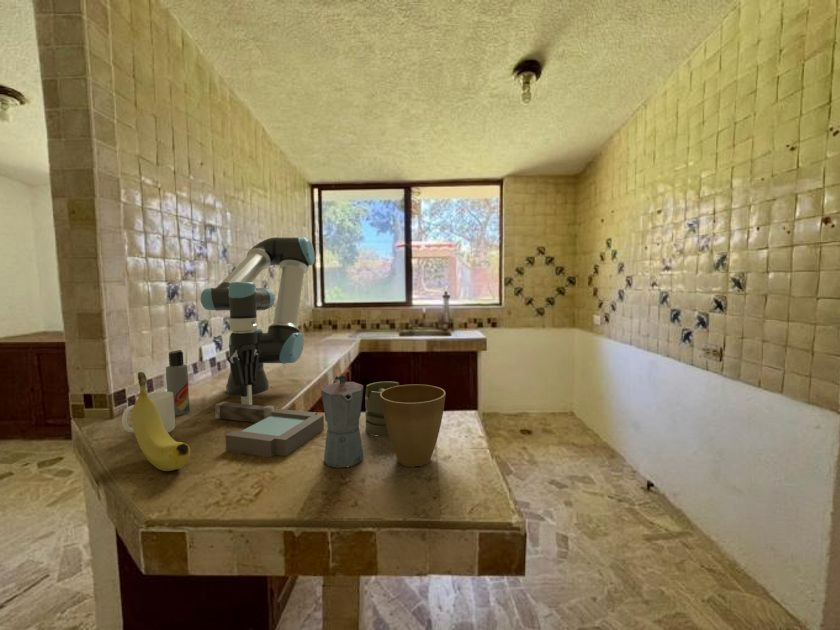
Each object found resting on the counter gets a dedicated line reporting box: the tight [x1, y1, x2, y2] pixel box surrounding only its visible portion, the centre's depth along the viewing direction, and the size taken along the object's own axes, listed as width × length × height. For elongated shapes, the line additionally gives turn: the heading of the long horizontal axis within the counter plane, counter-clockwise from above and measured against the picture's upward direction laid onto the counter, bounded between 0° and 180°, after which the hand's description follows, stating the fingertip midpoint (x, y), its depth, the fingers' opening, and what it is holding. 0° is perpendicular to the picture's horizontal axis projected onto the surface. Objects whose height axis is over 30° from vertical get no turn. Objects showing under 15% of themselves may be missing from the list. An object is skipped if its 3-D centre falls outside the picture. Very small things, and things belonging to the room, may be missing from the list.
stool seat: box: [224, 408, 325, 458], centre depth 98 cm, size 20×16×4 cm
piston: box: [364, 381, 400, 437], centre depth 104 cm, size 11×12×11 cm
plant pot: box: [380, 383, 446, 468], centre depth 85 cm, size 15×15×16 cm
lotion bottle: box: [165, 349, 190, 417], centre depth 117 cm, size 6×6×20 cm
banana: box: [131, 371, 191, 472], centre depth 83 cm, size 23×6×20 cm, turn 55°
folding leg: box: [214, 401, 275, 424], centre depth 111 cm, size 19×3×4 cm, turn 74°
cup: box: [121, 391, 176, 434], centre depth 101 cm, size 8×12×10 cm
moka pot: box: [320, 375, 364, 468], centre depth 85 cm, size 10×15×20 cm, turn 27°
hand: (246, 405), depth 117 cm, fingers closed
